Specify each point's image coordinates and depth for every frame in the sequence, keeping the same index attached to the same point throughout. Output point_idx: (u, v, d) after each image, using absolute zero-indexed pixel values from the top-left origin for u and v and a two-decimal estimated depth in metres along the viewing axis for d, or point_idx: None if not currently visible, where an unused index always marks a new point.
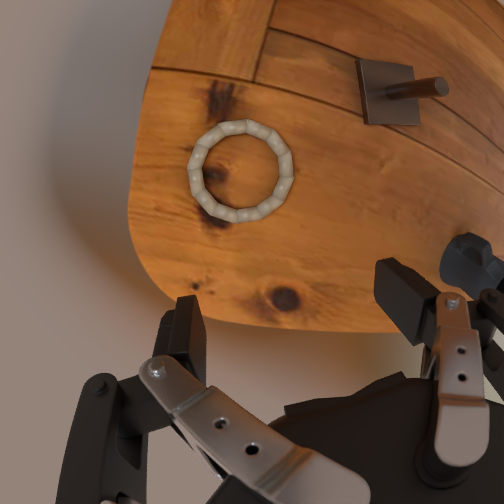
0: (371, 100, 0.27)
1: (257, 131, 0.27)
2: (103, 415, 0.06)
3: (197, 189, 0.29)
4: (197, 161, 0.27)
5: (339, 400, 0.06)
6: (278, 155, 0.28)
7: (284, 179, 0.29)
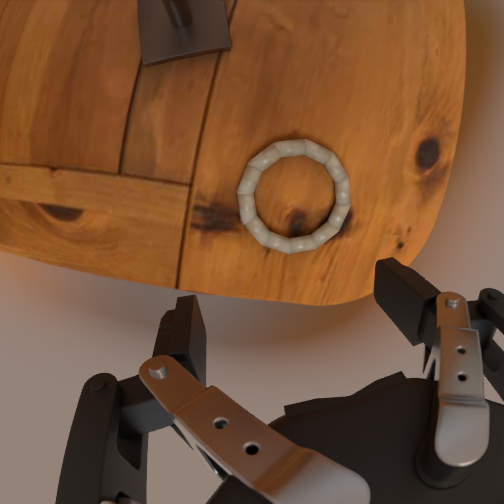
0: (198, 44, 0.20)
1: (252, 182, 0.25)
2: (103, 415, 0.06)
3: (312, 245, 0.28)
4: (283, 245, 0.27)
5: (339, 400, 0.06)
6: (280, 157, 0.25)
7: (308, 151, 0.24)
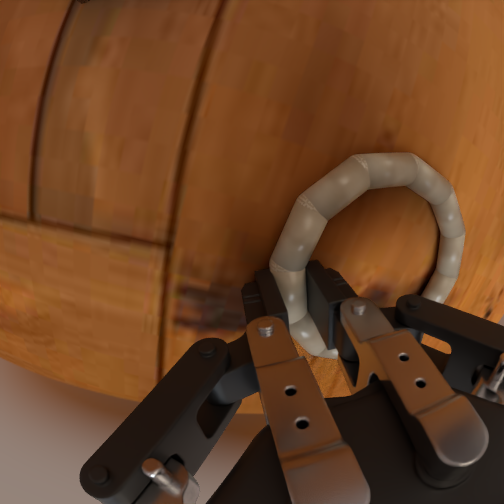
0: None
1: (307, 246, 0.11)
2: (198, 380, 0.07)
3: None
4: None
5: (339, 400, 0.06)
6: None
7: (419, 181, 0.10)
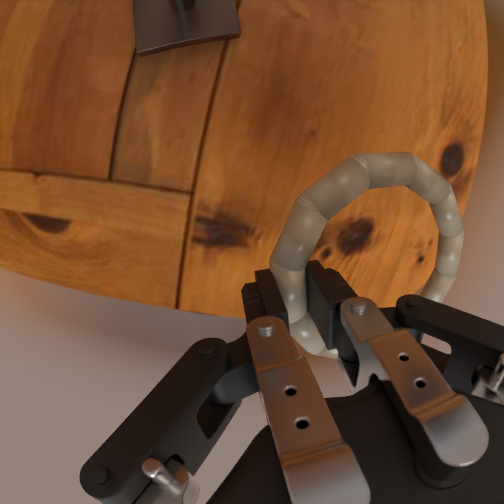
0: (201, 30, 0.16)
1: (307, 246, 0.11)
2: (198, 380, 0.07)
3: None
4: None
5: (339, 400, 0.06)
6: (365, 189, 0.11)
7: (418, 180, 0.11)
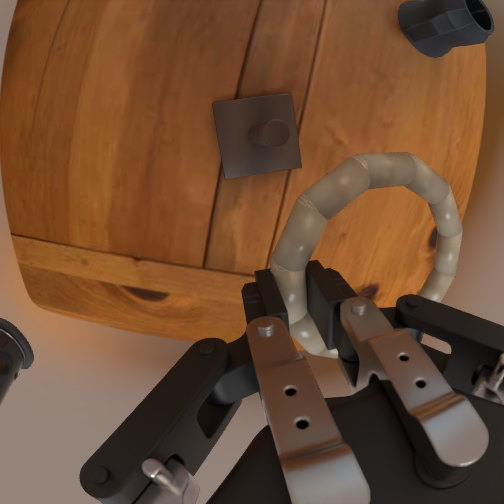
0: (274, 164, 0.28)
1: (308, 246, 0.11)
2: (198, 380, 0.07)
3: None
4: None
5: (339, 400, 0.06)
6: (365, 189, 0.11)
7: (417, 180, 0.11)
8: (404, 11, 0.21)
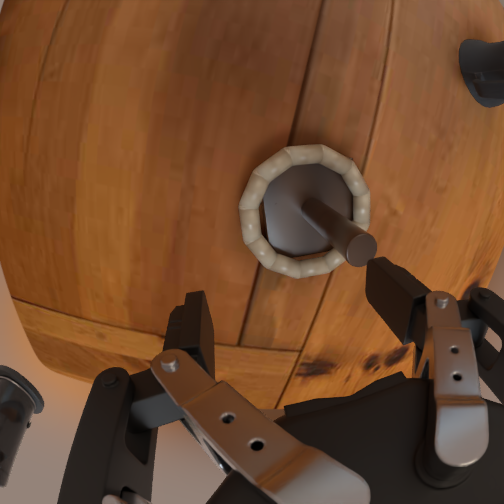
0: (327, 243, 0.24)
1: (257, 195, 0.21)
2: (113, 409, 0.06)
3: (325, 268, 0.24)
4: (292, 269, 0.23)
5: (339, 400, 0.06)
6: (291, 165, 0.20)
7: (325, 159, 0.20)
8: (467, 53, 0.18)
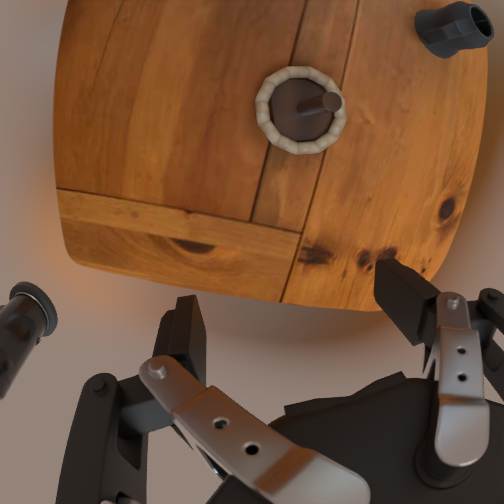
0: (316, 134, 0.32)
1: (267, 92, 0.28)
2: (103, 415, 0.06)
3: (315, 147, 0.31)
4: (291, 145, 0.31)
5: (339, 400, 0.06)
6: (289, 77, 0.28)
7: (311, 74, 0.28)
8: (420, 18, 0.25)
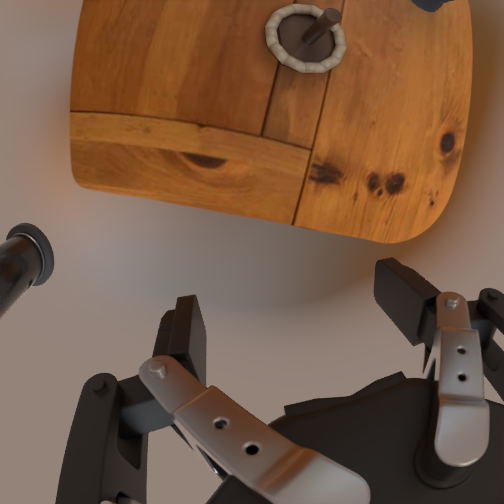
0: (320, 58, 0.31)
1: (276, 20, 0.27)
2: (103, 415, 0.06)
3: (320, 66, 0.30)
4: (299, 62, 0.30)
5: (339, 400, 0.06)
6: (294, 11, 0.27)
7: (313, 10, 0.27)
8: None
